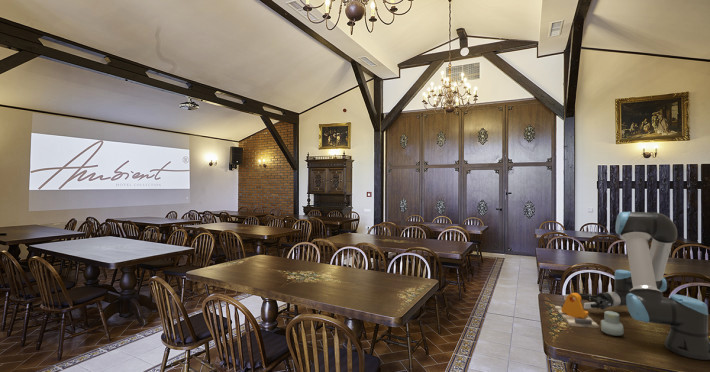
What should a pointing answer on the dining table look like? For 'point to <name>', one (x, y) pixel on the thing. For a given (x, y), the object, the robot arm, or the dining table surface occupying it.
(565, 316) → the rail board
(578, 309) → the bracket
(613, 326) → the air freshener
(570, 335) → the dining table surface
